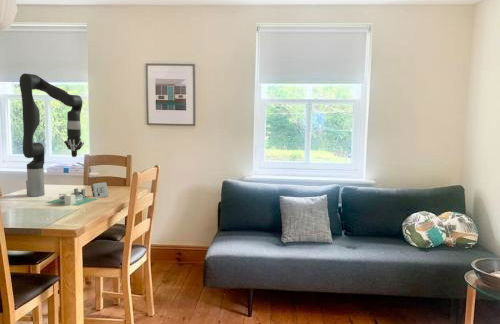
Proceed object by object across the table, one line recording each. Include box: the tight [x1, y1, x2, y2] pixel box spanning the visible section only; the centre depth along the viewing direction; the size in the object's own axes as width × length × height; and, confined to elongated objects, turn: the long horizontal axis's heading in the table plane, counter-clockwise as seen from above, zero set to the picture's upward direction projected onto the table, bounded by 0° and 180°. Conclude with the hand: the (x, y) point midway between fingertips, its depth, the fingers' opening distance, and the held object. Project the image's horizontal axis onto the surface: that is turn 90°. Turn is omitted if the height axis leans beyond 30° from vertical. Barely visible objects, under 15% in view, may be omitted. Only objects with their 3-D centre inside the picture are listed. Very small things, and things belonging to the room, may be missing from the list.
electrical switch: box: [90, 181, 109, 199], centre depth 252 cm, size 9×5×9 cm, turn 141°
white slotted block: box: [60, 194, 84, 202], centre depth 234 cm, size 9×9×3 cm
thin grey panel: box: [58, 191, 81, 199], centre depth 234 cm, size 16×3×1 cm, turn 166°
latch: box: [58, 192, 76, 206], centre depth 227 cm, size 8×4×6 cm, turn 76°
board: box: [45, 187, 98, 207], centre depth 235 cm, size 22×19×7 cm
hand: (74, 156), depth 244 cm, fingers closed
